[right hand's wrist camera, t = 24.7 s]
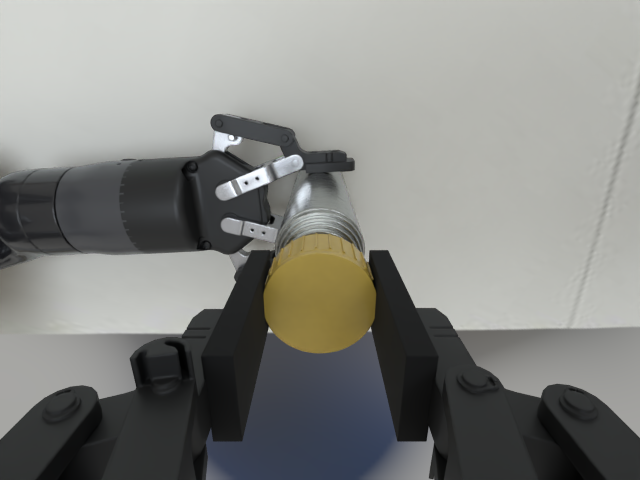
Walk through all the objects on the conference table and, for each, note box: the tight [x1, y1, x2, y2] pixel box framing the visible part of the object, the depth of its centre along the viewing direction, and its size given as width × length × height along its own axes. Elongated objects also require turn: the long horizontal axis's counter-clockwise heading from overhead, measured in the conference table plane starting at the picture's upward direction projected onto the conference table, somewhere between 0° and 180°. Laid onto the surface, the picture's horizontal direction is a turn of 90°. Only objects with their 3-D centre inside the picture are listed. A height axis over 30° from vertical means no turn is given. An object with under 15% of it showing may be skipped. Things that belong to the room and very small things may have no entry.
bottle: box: [275, 170, 365, 256], centre depth 24 cm, size 4×4×22 cm
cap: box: [263, 233, 376, 353], centre depth 14 cm, size 4×4×2 cm
